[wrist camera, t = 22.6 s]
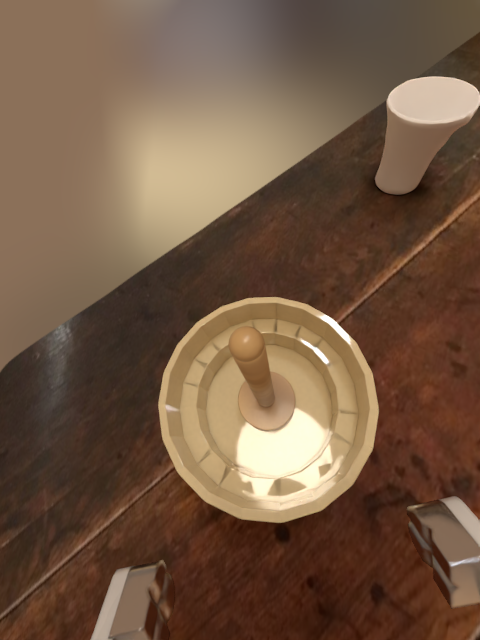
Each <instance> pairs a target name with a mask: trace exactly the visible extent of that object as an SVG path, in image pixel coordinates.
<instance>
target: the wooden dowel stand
mask: <svg viewBox="0 0 480 640" xmlns="http://www.w3.org/2000/svg"><path fill="white" fill-rule="evenodd" d="M229 350H230V353H231V355H232V356H233V358H234V360H235V362H236V364H237V365H238V367H239V369H240V371H241V373H242V374H243V376H244V378H245V381H244V383H243V384H242V386H241V388H240V391H239V395H238V405H239V409H240V412H241V414H242V416H243V418H244V419H245V420H246V421H247V422H248V423H249V424H250V425H252V426H253V427H254V428H256V429H258V430H261V431H267V432H270V431H276V430H279V429H281V428H283V427H284V426H285V425H286V424H287V423H288V422H289V421H290V420H291V418H292V416H293V413H294V409H295V403H296V399H295V393H294V390H293V388H292V386H291V384H290V383H289V382H288V380H287V379H286V378H284V377H283V376H282V375H280V374H278V373H275V372H271V371H270V368H269V363H268V357H267V352H266V346H265V341H264V338H263V336H262V334H261V333H260V332H259V331H258V330H257V329H255V328H253V327H250V326H243V327H240V328H238V329H236V330H235V331H234V332H233V333H232V334H231V336H230V338H229Z"/></svg>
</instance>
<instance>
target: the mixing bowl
mask: <svg viewBox="0 0 480 640" xmlns="http://www.w3.org/2000/svg"><path fill="white" fill-rule="evenodd" d="M243 326H250V327H253V328H255V329H257V330H258V331H259V332H260V333H261V334H262V336H263V338H264V341H265V346H266V352H267V357H268V363H269V368H270V371H271V372H275V373H278V374H280V375H282V376H283V377H284V378H286V379H287V380H288V382H289V383H290V384H291V386H292V388H293V390H294V393H295V399H296V403H295V409H294V413H293V416H292V418H291V420H290V421H289V422H288V423H287V424H286V425H285V426H284V427H283V428H281V429H279V430H276V431H270V432H267V431H261V430H258V429H256V428H254V427H253V426H252V425H250V424H249V423H248V422H247V421H246V420H245V419H244V418H243V416H242V414H241V412H240V409H239V405H238V395H239V391H240V388H241V386H242V384H243V383H244V381H245V378H244V376H243V374H242V373H241V371H240V369H239V367H238V365H237V364H236V362H235V360H234V358H233V356H232V355H231V353H230V350H229V338H230V336H231V334H232V333H233V332H234V331H235V330H236V329H238V328H240V327H243ZM158 407H159V415H160V424H161V432H162V439H163V442H164V444H165V446H166V448H167V451H168V453H169V455H170V457H171V459H172V462H173V464H174V466H175V468H176V470H177V472H178V474H179V475H180V476H181V477H182V478H183V479H184V480H185V481H186V482H187V483H188V485H189V486H190V487H191V488H192V489H193V490H194V491H195V492H196V493H197V494H198V495H199V496H200V497H201V498H202V499H203V500H204V501H205V502H207V503H209V504H211V505H213V506H215V507H217V508H219V509H220V510H222V511H224V512H226V513H228V514H230V515H232V516H234V517H236V518H238V519H241V520H252V521H263V522H274V523H284V522H287V521H290V520H294V519H297V518H300V517H303V516H307V515H310V514H313V513H316V512H320V511H322V510H323V509H324V508H326V507H327V506H328V505H329V504H330V503H332V502H333V501H334V500H335V499H337V498H338V497H339V496H340V495H341V494H343V493H344V492H345V491H346V490H347V489H349V488H350V487H351V486H352V485H353V484H354V483H355V481H356V479H357V477H358V475H359V474H360V472H361V470H362V468H363V466H364V465H365V463H366V461H367V459H368V457H369V456H370V454H371V452H372V450H373V446H374V440H375V434H376V427H377V421H378V414H379V407H378V401H377V395H376V390H375V384H374V379H373V374H372V371H371V370H370V368H369V366H368V364H367V362H366V360H365V358H364V356H363V354H362V352H361V351H360V349H359V347H358V345H357V343H356V342H355V341H354V340H353V339H352V338H351V337H350V336H349V335H348V334H347V333H346V332H345V331H344V330H343V329H342V328H341V327H340V326H339V325H338V324H337V323H336V321H335V320H333V319H332V318H330V317H329V316H327V315H325V314H323V313H322V312H320V311H318V310H316V309H314V308H313V307H311V306H309V305H307V304H304V303H300V302H296V301H292V300H287V299H283V298H279V297H263V298H247V299H244V300H241V301H238V302H235V303H232V304H228V305H225V306H222V307H220V308H219V309H217V310H215V311H214V312H212V313H211V314H209V315H208V316H206V317H205V318H203V319H202V320H200V321H198V322H197V323H196V324H195V325H194V326H193V328H192V329H191V330H190V331H189V332H188V333H187V334H186V335H185V337H184V338H183V339H182V340H181V341H180V342H179V343H178V345H177V346H176V348H175V350H174V352H173V354H172V357H171V359H170V361H169V363H168V365H167V367H166V369H165V371H164V374H163V380H162V386H161V391H160V397H159V403H158Z"/></svg>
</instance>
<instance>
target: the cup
mask: <svg viewBox="0 0 480 640" xmlns="http://www.w3.org/2000/svg"><path fill="white" fill-rule="evenodd" d="M479 105H480V94H479V92H478V90H477V89H476V88H475V87H474V86H472V85H471V84H469V83H467V82H465V81H462V80H459V79H455V78H448V77H423V78H417V79H412V80H408V81H406V82H405V83H403V84H401V85H400V86H398V87H396V88H395V89H394V90H393V91H392V92H391V93H390V94H389V97H388V99H387V117H388V124H387V131H386V141H385V147H384V152H383V156H382V160H381V163H380V167H379V169H378V171H377V174H376V177H375V182H376V185H377V187H378V188H379V189H380V190H382V191H383V192H385V193H389V194H394V195H401V194H406V193H408V192H411V191H413V190H414V189H415V188H416V187H417V186H418V184H419V182H420V180H421V179H422V177H423V175H424V173H425V171H426V169H427V168H428V166H429V164H430V162H431V161H432V159H433V158H434V156H435V154H436V153H437V152H438V151H439V149H440V148H441V147H442V146H443V145H444V144H445V143H446V142H447V140H448V139H449V137H450V136H451V135H452V134H453V133H454V132H455V131H456V130H457V129H458V128H460V127H462V126H464V125H466V124H467V123H468V122H469V121H470V119H471V118H472V117H473V114H474V113H475V112H476V111H477V109H478V107H479Z"/></svg>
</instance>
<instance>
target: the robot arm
mask: <svg viewBox="0 0 480 640" xmlns="http://www.w3.org/2000/svg"><path fill="white" fill-rule="evenodd" d="M407 515H408V516H409V518H410V520H411V521H410V522H409V524H408V528H409V533H410V536H411V539H412V542H413V544H414V546H415V548H416V550H417V552H418V553H419V555H420V557H421V559H422V560H423V561H424V562H425V563H426V564H428V565H429V566H430V567H432V568H433V577H434V580H435V582H436V584H437V585H438V587H439V589H440V590H441V592H442V594H443V595H444V597H445V599H446V600H447V602H448V604H449V605H450V607H451V609H453V608H459V607H465V606H472V605H478V604H480V520H479V519H478V518H477V517H476V516H475V515H474V514H473V513H472V511H471V510H470V509H469V508H468V507H467V506H466V505H465V504H464V502H463V501H462V500H461V499H459V498H458V497H454V496H453V497H449V498H444V499H440V500H434V501H430V502H426V503H421V504H417V505H413V506H409V507H408V508H407ZM174 603H175V586H174V581H173V578H172V576H171V575H170V574H168V573H166V564H165V563H164V561H163V560H161V561H156V562H151V563H147V564H142V565H138V566H131V567H127V568H122V569H118V570H117V571H116V572H115V574H114V576H113V577H112V580H111V583H110V586H109V589H108V592H107V595H106V597H105V600H104V603H103V606H102V609H101V612H100V615H99V617H98V620H97V623H96V626H95V629H94V632H93V635H92V638H91V640H169V637H170V631H169V628H168V626H167V622H168V621H169V619H170V617H171V615H172V614H173V610H174Z"/></svg>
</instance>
